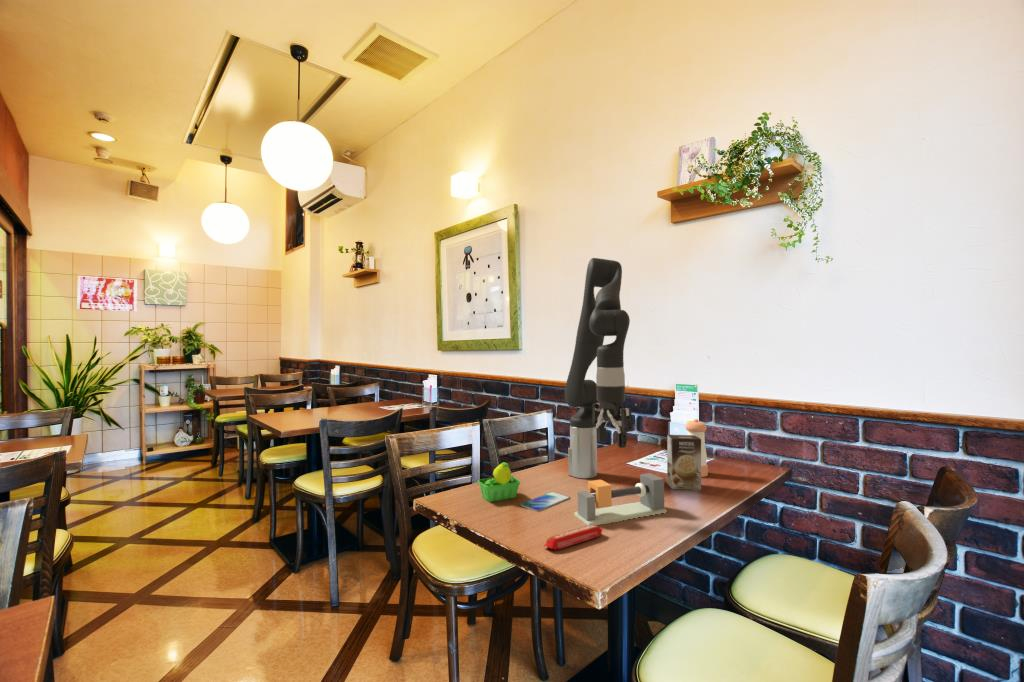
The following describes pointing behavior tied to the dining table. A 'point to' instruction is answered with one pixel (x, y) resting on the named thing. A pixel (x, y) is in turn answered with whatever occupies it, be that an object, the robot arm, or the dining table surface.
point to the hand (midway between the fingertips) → (611, 444)
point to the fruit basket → (499, 484)
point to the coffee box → (684, 462)
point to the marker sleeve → (601, 493)
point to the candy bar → (573, 537)
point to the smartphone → (545, 501)
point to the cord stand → (648, 505)
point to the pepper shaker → (698, 430)
